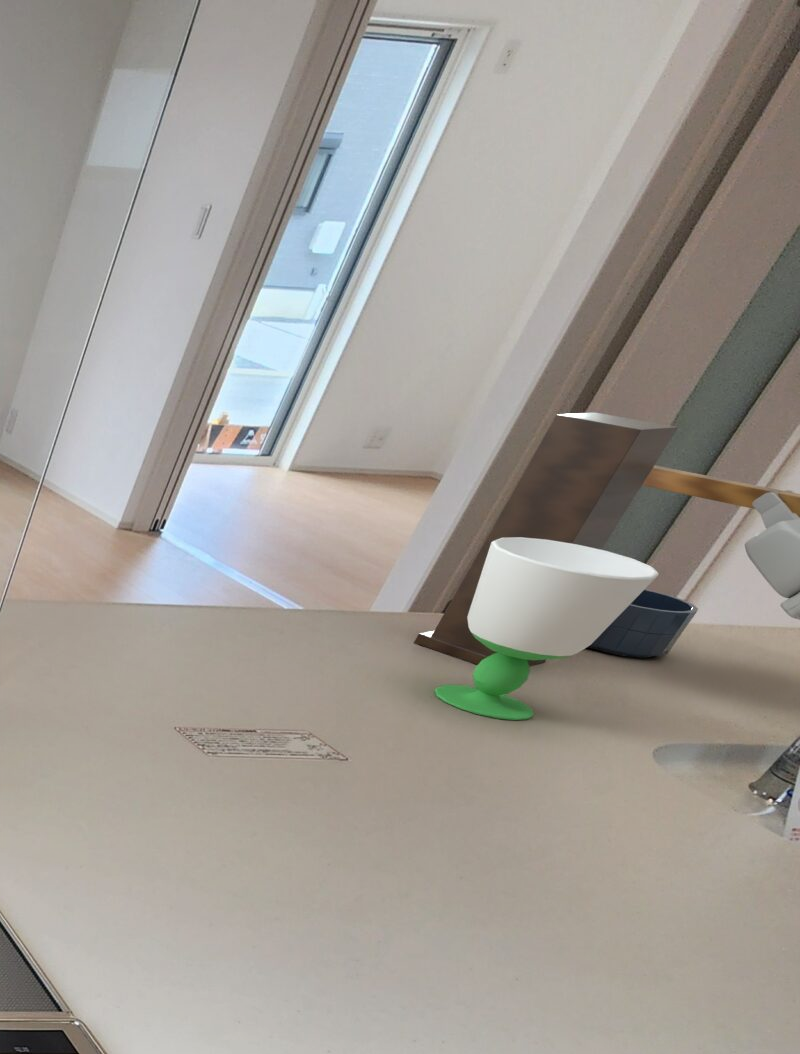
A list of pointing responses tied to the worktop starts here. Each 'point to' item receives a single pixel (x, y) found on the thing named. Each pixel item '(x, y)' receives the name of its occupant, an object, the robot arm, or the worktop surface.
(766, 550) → the robot arm
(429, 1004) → the worktop surface
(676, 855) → the worktop surface
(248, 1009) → the worktop surface
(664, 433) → the tall brown box
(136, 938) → the worktop surface
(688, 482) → the wooden bar
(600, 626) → the cup
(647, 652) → the bowl
